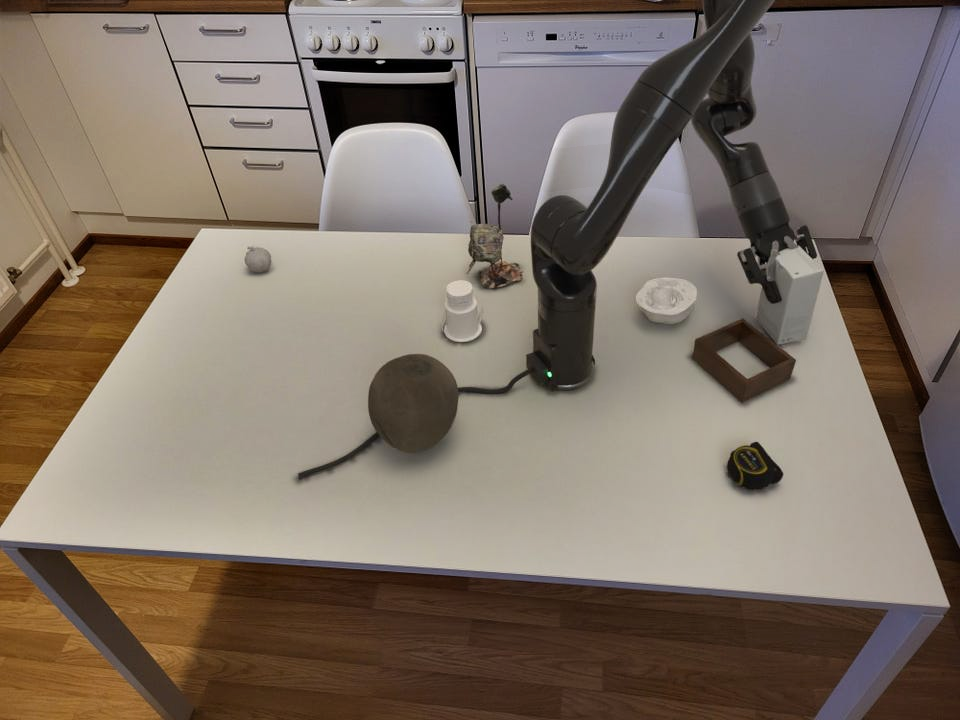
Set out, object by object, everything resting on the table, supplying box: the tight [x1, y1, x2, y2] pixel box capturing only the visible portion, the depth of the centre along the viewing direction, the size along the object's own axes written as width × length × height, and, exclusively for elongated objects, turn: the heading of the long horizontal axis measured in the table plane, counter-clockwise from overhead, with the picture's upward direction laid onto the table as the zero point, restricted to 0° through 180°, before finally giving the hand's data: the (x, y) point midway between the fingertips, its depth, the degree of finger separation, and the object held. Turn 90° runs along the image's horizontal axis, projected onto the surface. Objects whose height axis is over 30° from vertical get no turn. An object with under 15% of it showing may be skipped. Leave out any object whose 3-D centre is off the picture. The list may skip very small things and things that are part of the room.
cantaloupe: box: [367, 353, 459, 454], centre depth 120 cm, size 14×14×15 cm
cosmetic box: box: [755, 246, 825, 346], centre depth 133 cm, size 8×6×15 cm
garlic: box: [244, 246, 272, 273], centre depth 159 cm, size 6×5×5 cm
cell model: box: [635, 276, 698, 325], centre depth 141 cm, size 10×12×7 cm
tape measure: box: [726, 441, 784, 491], centre depth 114 cm, size 7×7×4 cm
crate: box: [691, 317, 797, 404], centre depth 131 cm, size 11×13×4 cm
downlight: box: [440, 279, 484, 343], centre depth 140 cm, size 8×7×10 cm
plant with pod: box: [465, 183, 524, 289], centre depth 148 cm, size 8×11×20 cm
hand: (793, 295), depth 131 cm, fingers closed on cosmetic box, 7 cm apart
